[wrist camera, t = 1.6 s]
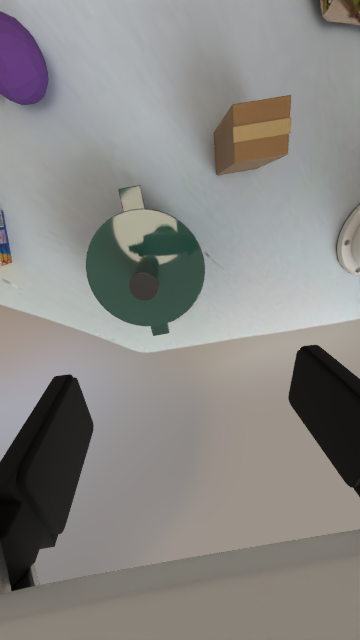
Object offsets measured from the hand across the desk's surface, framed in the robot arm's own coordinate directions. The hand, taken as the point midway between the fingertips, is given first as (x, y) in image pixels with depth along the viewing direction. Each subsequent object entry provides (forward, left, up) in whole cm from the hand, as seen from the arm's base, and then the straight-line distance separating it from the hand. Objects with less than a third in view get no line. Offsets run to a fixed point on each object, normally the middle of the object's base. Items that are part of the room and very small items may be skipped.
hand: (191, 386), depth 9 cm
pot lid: (+3, 0, -20) cm, 20 cm away
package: (-11, -12, -28) cm, 32 cm away
